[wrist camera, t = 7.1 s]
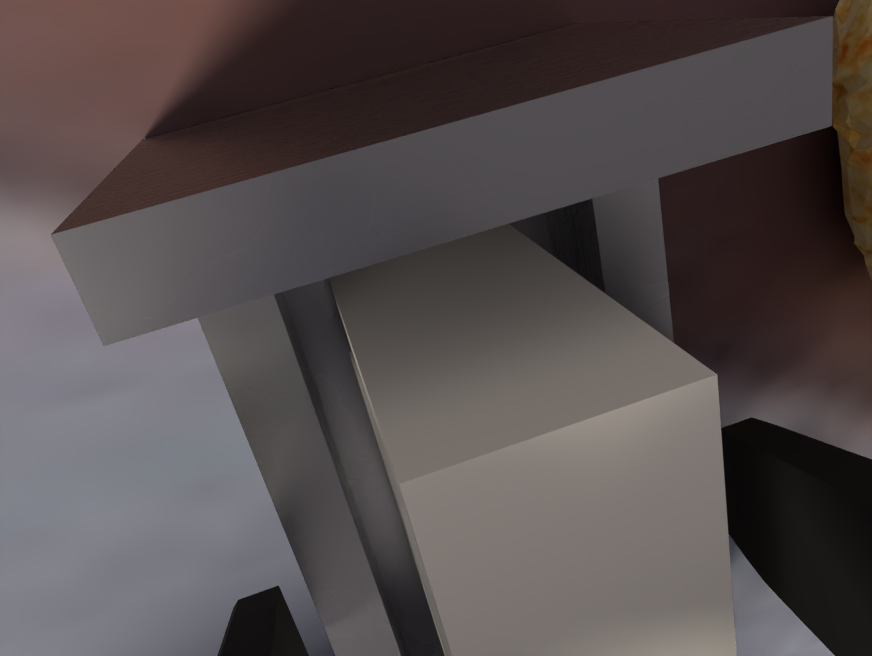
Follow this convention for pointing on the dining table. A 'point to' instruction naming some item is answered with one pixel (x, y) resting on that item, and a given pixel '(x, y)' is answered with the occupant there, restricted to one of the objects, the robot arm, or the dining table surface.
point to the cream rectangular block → (543, 454)
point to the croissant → (854, 115)
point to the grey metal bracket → (417, 239)
